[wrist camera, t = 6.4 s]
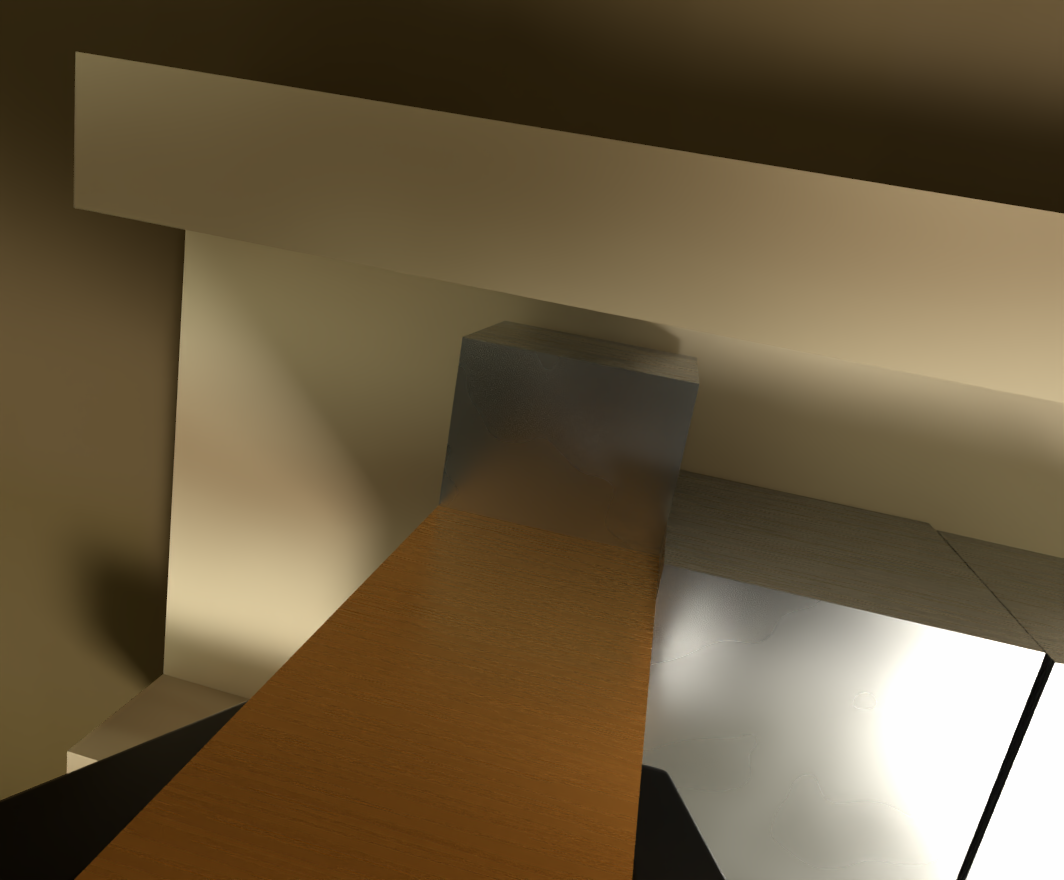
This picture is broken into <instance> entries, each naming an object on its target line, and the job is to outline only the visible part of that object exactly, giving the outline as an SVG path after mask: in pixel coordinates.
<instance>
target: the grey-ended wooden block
mask: <svg viewBox="0 0 1064 880" xmlns="http://www.w3.org/2000/svg"><path fill="white" fill-rule="evenodd" d="M698 388H699V375H698V365H697V358H696V357H691V356H686V355H681V354H676V353H670V352H665V351H660V350H655V349H650V348H645V347H639V346H634V345H629V344H624V343H619V342H614V341H608V340H603V339H598V338H593V337H588V336H582V335H577V334H572V333H567V332H562V331H557V330H551V329H546V328H541V327H536V326H531V325H526V324H520V323H515V322H510V321H503V322H500V323H498V324H495V325H492V326H490V327H487V328H485V329H482V330H479V331H477V332H474V333H472V334H469V335H466V336H464V337H462V344H461V351H460V358H459V366H458V373H457V380H456V387H455V394H454V401H453V408H452V415H451V422H450V429H449V436H448V443H447V450H446V457H445V464H444V471H443V478H442V485H441V492H440V499H439V505H438V506H437V507H436V508H435V510H434V511H433V512H432V513H431V514H430V515H429V516H428V517H427V518H426V519H425V520H424V521H423V522H422V523H421V524H420V525H419V526H418V527H417V528H416V529H415V530H414V531H413V532H412V533H411V534H410V535H409V536H408V537H407V538H406V539H405V540H404V541H403V542H402V543H401V544H400V545H399V546H398V548H397V549H396V550H395V551H394V552H393V553H392V554H391V555H390V556H389V557H388V558H387V559H386V560H385V561H384V562H383V563H382V564H381V565H380V566H379V567H378V568H377V569H376V570H375V571H374V572H373V573H372V574H371V575H370V576H369V577H368V578H367V579H366V580H365V581H364V582H363V583H362V585H361V586H360V587H359V588H358V589H357V590H356V591H355V592H354V593H353V594H352V595H351V596H350V597H349V598H348V599H347V600H346V601H345V602H344V603H343V604H342V605H341V606H340V607H339V608H338V609H337V610H336V611H335V612H334V613H333V614H332V615H331V616H330V617H329V618H328V619H327V620H326V621H325V623H324V624H323V625H322V626H321V627H320V628H319V629H318V630H317V631H316V632H315V633H314V634H313V635H312V636H311V637H310V638H309V639H308V640H307V641H306V642H305V643H304V644H303V645H302V646H301V647H300V648H299V649H298V650H297V651H296V652H295V653H294V654H293V655H292V656H291V657H290V658H289V660H288V661H287V662H286V663H285V664H284V665H283V666H282V667H281V668H280V669H279V670H278V671H277V672H276V673H275V674H274V675H273V676H272V677H271V678H270V679H269V680H268V681H267V682H266V683H265V684H264V685H263V686H262V687H261V688H260V689H259V690H258V691H257V692H256V693H255V694H254V695H253V697H252V698H251V699H250V700H249V701H248V702H247V703H246V704H245V705H244V706H243V707H242V708H241V709H240V710H239V711H238V712H237V713H236V714H235V715H234V716H233V717H232V718H231V719H230V720H229V721H228V722H227V723H226V724H225V725H224V726H223V727H222V728H221V729H220V730H219V731H218V732H217V733H216V735H215V736H214V737H213V738H212V739H211V740H210V741H209V742H208V743H207V744H206V745H205V746H204V747H203V748H202V749H201V750H200V751H199V752H198V753H197V754H196V755H195V756H194V757H193V758H192V759H191V760H190V761H189V762H188V763H187V764H186V765H185V766H184V767H183V768H182V769H181V770H180V772H179V773H178V774H177V775H176V776H175V777H174V778H173V779H172V780H171V781H170V782H169V783H168V784H167V785H166V786H165V787H164V788H163V789H162V790H161V791H160V792H159V793H158V794H157V795H156V796H155V797H154V798H153V799H152V800H151V801H150V802H149V803H148V804H147V805H146V806H145V807H144V809H143V810H142V811H141V812H140V813H139V814H138V815H137V816H136V817H135V818H134V819H133V820H132V821H131V822H130V823H129V824H128V825H127V826H126V827H125V828H124V829H123V830H122V831H121V832H120V833H119V834H118V835H117V836H116V837H115V838H114V839H113V840H112V841H111V842H110V843H109V844H108V845H107V847H106V848H105V849H104V850H103V851H102V852H101V853H100V854H99V855H98V856H97V857H96V858H95V859H94V860H93V861H92V862H91V863H90V864H89V865H88V866H87V867H86V868H85V869H84V870H83V871H82V872H81V873H80V874H79V875H78V876H77V877H76V878H75V879H74V880H632V874H633V863H634V851H635V839H636V827H637V816H638V804H639V792H640V780H641V769H642V757H643V745H644V733H645V722H646V710H647V698H648V687H649V675H650V663H651V651H652V640H653V628H654V616H655V604H656V593H657V581H658V569H659V557H660V553H661V548H662V544H663V540H664V535H665V531H666V527H667V522H668V518H669V514H670V509H671V505H672V501H673V496H674V492H675V488H676V483H677V479H678V475H679V470H680V466H681V462H682V457H683V453H684V449H685V444H686V440H687V436H688V431H689V427H690V423H691V418H692V414H693V410H694V405H695V401H696V397H697V392H698Z"/></svg>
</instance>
